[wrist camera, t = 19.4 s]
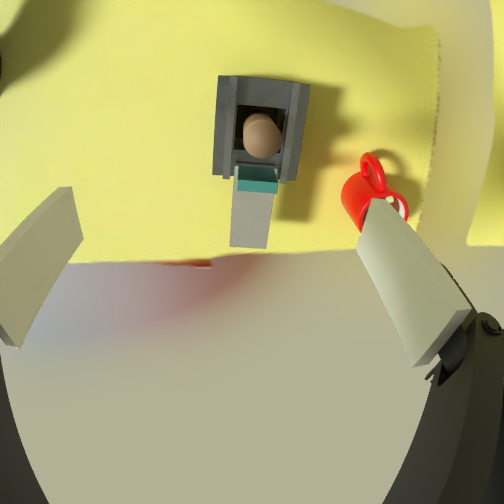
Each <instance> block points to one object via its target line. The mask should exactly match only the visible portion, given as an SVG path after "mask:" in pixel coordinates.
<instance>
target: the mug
mask: <svg viewBox="0 0 504 504" xmlns="http://www.w3.org/2000/svg"><path fill="white" fill-rule="evenodd" d="M370 166H371V168H372V170H373V172H371V171H370ZM360 169H361V172H358V173H356V174H354V175H352V176H351V177H350V178H349V179H348V180H347V181H346V183H345V184H344V186H343V189H342V193H341V201H342V204H343V206H344V208H345V210H346V211H347V213H348V214H349V216H350V217H351V219H352V220H353V222H354V223H355V225H356V226H357V228H358V230H359V231H360V233H361V232H362V229H363V226H364V222H365V219H366V216H367V213H368V209H369V206H370V203H371V199H372V198H377V199H384V200H387V201H388V202H389V203H390V204H391V205H392V207H393V208H394V209H395V210H396V211H397V212H398V213H399V214H400V215H401V216H402V218H403V219H404V220H405V221H406V222H407V219H408V212H409V211H408V205H407V202H406V201H405V199H404V198H403V197H402V196H401V195H400V194H399V193H398V192H397V191H396V190H395V189H394V188H393V187H391V186H390V185H389V184H388V183H387V182H386V177H385V173H384V170H383V167H382V165H381V163H380V161H379V160H378V158H377V157H376V156H375V155H374V154H372V153H370V152H366V153H364V154H363V155H362V157H361V160H360Z"/></svg>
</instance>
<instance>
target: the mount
mask: <svg viewBox="0 0 504 504" xmlns="http://www.w3.org/2000/svg"><path fill="white" fill-rule="evenodd" d="M309 88H310V85H308V84H302V83H296V82H289V81H281V80H273V79H264V78H253V77H240V76H221V75H218V86H217V99H216V114H215V130H214V149H213V171H212V175H223V179H230V176H234V170H235V163H249V164H261V165H272V166H277V176H276V177H277V179H278V180H279V183H284V184H286V181H287V180H289V181H295V179H296V173H297V167H298V161H299V155H300V149H301V142H302V136H303V129H304V123H305V116H306V109H307V102H308V95H309ZM238 105H252V106H263V107H273V108H279V111H278V120H277V128H278V129H279V131H280V133H281V135H282V145H281V148H280V149H279V151H278V152H277V153H276V154H275V155H273V156H271V157H269V158H256V157H254V156H252V155H251V154H249V153H248V152H247V150H246V149H245V146H244V142H243V139H235V131H236V118H237V107H238Z"/></svg>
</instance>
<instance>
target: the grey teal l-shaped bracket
mask: <svg viewBox="0 0 504 504" xmlns="http://www.w3.org/2000/svg"><path fill="white" fill-rule="evenodd" d="M276 176H277V166H272V165H261V164H249V163H235V170H234V184H233V199H232V214H231V230H230V247H244V248H261V249H266V246H267V239H268V232H269V226H270V219H271V212H272V205H273V197H274V194H277V189H278V180H277V177H276Z"/></svg>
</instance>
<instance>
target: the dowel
mask: <svg viewBox="0 0 504 504" xmlns="http://www.w3.org/2000/svg"><path fill="white" fill-rule="evenodd" d="M243 142H244V146H245V149H246V150H247V152H248V153H249V154H251V155H252V156H254V157H256V158H269V157H271V156H273V155H275V154H276V153H277V152H278V151H279V149H280V148H281V145H282V135H281V133H280V131H279V129H278V128H277V126H276V125H275V123H274V122H273V120H272V119H271V117H270V116H269V114H268V113H267V112H266V111H264V110H263V109H259V108H255V109H251V110H249V111H248V112H247V113H246V114H245V116H244V119H243Z"/></svg>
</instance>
